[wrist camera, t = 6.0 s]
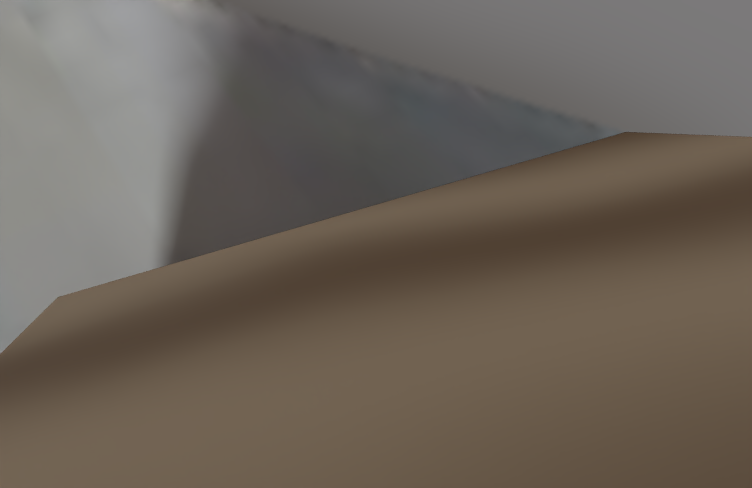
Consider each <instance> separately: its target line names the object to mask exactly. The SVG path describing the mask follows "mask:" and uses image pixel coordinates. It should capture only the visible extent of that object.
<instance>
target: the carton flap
mask: <svg viewBox="0 0 752 488" xmlns="http://www.w3.org/2000/svg"><path fill="white" fill-rule="evenodd" d="M0 488H752V137H739V136H714V135H687V134H663V133H637V132H624V133H621V134H617V135H614V136H611V137H607V138H604V139H600V140H597V141H593V142H590V143H586V144H583V145H580V146H576V147H573V148H569V149H566V150H562V151H559V152H555V153H552V154H549V155H545V156H542V157H538V158H535V159H531V160H528V161H525V162H521V163H518V164H514V165H511V166H507V167H504V168H500V169H497V170H494V171H490V172H487V173H483V174H480V175H476V176H473V177H470V178H466V179H463V180H459V181H456V182H452V183H449V184H445V185H442V186H439V187H435V188H432V189H428V190H425V191H421V192H418V193H414V194H411V195H408V196H404V197H401V198H397V199H394V200H390V201H387V202H384V203H380V204H377V205H373V206H370V207H366V208H363V209H359V210H356V211H353V212H349V213H346V214H342V215H339V216H335V217H332V218H328V219H325V220H322V221H318V222H315V223H311V224H308V225H304V226H301V227H298V228H294V229H291V230H287V231H284V232H280V233H277V234H273V235H270V236H267V237H263V238H260V239H256V240H253V241H249V242H246V243H243V244H239V245H236V246H232V247H229V248H225V249H222V250H218V251H215V252H212V253H208V254H205V255H201V256H198V257H194V258H191V259H187V260H184V261H181V262H177V263H174V264H170V265H167V266H163V267H160V268H157V269H153V270H150V271H146V272H143V273H139V274H136V275H132V276H129V277H126V278H122V279H119V280H115V281H112V282H108V283H105V284H101V285H98V286H95V287H91V288H88V289H84V290H81V291H77V292H74V293H71V294H67V295H64V296H60V297H58V298H57V299H56V300H55V301H54V302H53V303H52V304H51V305H50V306H49V307H48V308H46V309H45V310H44V311H43V312H42V313H41V314H40V315H39V316H38V317H37V318H36V319H35V320H34V321H33V322H32V323H31V324H30V325H29V326H28V327H27V328H26V329H25V330H24V331H23V332H22V333H21V334H20V335H19V336H18V337H17V338H16V339H15V340H14V341H13V342H12V343H11V344H10V345H9V346H8V347H7V348H6V349H5V350H4V351H3V352H2V353H1V354H0Z"/></svg>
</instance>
